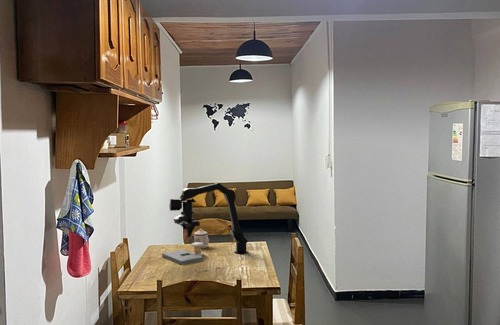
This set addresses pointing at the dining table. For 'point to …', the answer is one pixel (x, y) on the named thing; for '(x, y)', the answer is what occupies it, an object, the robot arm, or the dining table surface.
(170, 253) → the slotted board
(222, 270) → the dining table surface
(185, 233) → the brown rectangular block
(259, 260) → the dining table surface
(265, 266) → the dining table surface
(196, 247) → the spool
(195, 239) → the white printed mug
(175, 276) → the dining table surface
